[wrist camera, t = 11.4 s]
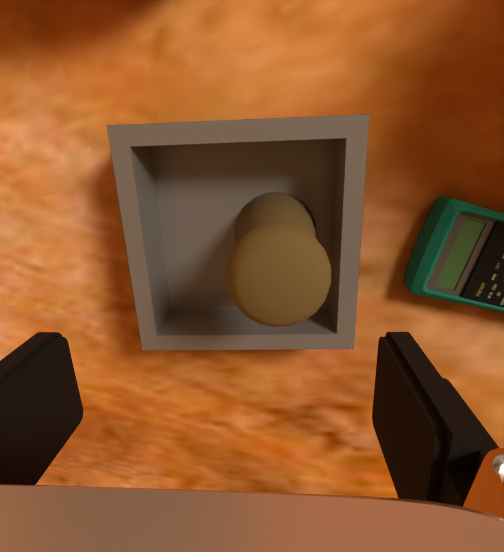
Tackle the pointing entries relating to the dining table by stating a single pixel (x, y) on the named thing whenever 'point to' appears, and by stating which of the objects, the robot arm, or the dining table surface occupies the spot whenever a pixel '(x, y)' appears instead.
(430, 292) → the digital multimeter
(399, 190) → the dining table surface
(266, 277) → the tan piece
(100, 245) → the dining table surface
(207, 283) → the gray square tray
